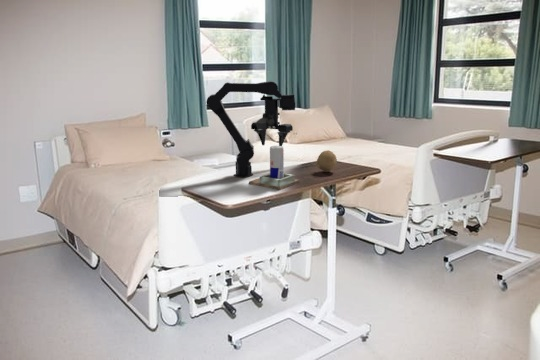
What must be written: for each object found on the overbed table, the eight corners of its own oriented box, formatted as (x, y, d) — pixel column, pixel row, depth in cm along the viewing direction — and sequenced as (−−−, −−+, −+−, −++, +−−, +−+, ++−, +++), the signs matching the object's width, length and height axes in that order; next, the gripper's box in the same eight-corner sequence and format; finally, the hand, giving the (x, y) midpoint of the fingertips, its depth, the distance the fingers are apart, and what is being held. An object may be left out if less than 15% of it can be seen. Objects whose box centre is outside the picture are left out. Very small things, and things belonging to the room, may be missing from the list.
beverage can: (280, 180, 203) (280, 144, 199) (286, 183, 198) (285, 147, 194) (268, 181, 201) (267, 146, 197) (273, 184, 196) (273, 148, 192)
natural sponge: (340, 173, 218) (341, 151, 216) (324, 175, 215) (324, 153, 212) (330, 169, 226) (330, 148, 224) (313, 171, 223) (313, 149, 220)
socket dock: (248, 183, 202) (248, 175, 201) (268, 177, 213) (268, 168, 212) (280, 189, 193) (280, 180, 192) (299, 182, 204) (299, 173, 203)
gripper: (242, 111, 209) (243, 147, 212) (278, 113, 198) (278, 151, 202) (258, 109, 217) (259, 143, 221) (293, 111, 207) (293, 147, 210)
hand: (271, 146), depth 213 cm, fingers open, 9 cm apart
